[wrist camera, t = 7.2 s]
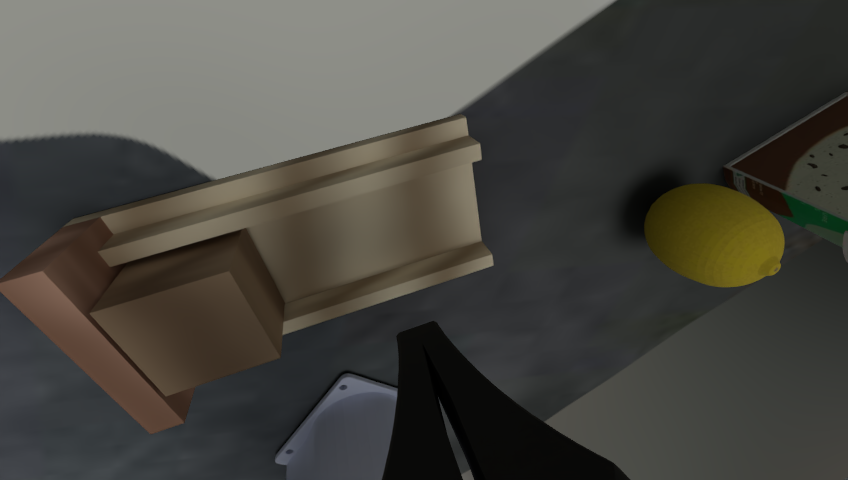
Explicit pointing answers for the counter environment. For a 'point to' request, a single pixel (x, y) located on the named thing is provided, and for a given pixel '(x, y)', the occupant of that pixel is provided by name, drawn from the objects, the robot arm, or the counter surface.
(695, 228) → the lemon
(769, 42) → the counter surface
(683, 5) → the counter surface
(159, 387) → the block
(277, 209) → the track
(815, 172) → the food container
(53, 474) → the counter surface
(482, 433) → the robot arm
